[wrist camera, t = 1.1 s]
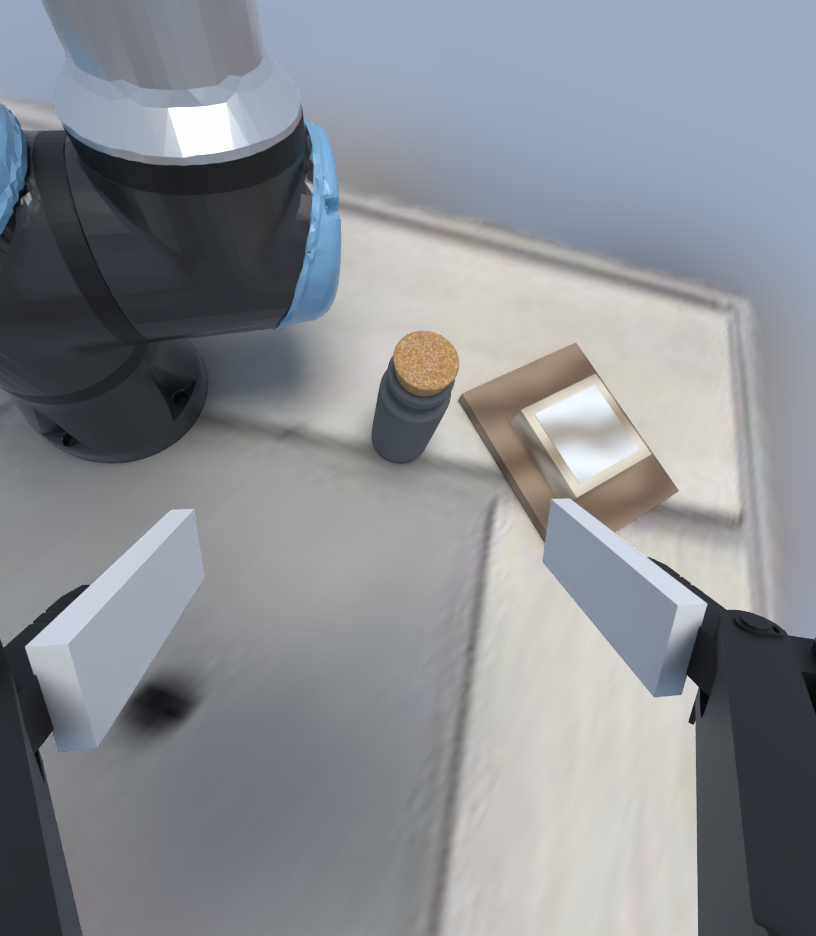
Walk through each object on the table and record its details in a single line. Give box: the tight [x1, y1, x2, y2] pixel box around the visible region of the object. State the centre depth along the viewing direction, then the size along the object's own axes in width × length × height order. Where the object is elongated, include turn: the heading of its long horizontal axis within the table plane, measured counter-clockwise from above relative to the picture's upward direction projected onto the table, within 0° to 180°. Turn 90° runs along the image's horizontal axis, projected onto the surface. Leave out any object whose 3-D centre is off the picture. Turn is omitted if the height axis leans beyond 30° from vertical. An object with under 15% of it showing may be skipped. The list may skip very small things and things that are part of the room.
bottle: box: [372, 331, 459, 463], centre depth 36 cm, size 6×6×15 cm
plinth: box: [459, 343, 679, 542], centre depth 43 cm, size 20×16×5 cm
